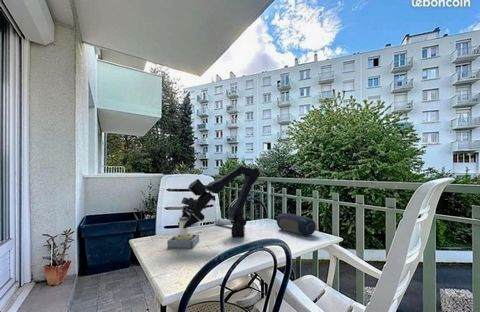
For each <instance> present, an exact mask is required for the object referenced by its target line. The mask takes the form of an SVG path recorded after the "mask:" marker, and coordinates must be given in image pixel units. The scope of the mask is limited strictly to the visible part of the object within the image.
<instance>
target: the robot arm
mask: <svg viewBox="0 0 480 312" xmlns="http://www.w3.org/2000/svg"><path fill="white" fill-rule="evenodd" d="M260 174H261V172H260V170H259V168H256V167H252V168H250V167H246V166H243V165H240V166H239V165H238V166H236V167H234V169H232V170H231V171H229V172H228V173H227V174H225V175H224V176H222V177H221V178H219V179H218V178H217V179H216V180H213V181H211V182H209V183H208V184H203V183H202V182H201V180H200V179H199V178H197V179H195V180H194V181H193V182H191V183H190V184H189V185H188V187H187V189H188V190H189V191H190V192H191V193H192V194H193V195H195V196H196V197H197V196H198V197H197V199H195V198H193V197H190V196H189V197H182V199H181V202H180V203H181V204H183V206H182V207H181V212H182V214H181V216H180V217H188V220H187V222H186V223H185V225H184V226H183V228H184V229H185V228H187V227H188V228H189V227H191V226H193V225H195V224H198V223H199V222H203V221H204V220H205V215H204V213H202V211H203V210H206V209H207V205H208V204H209V203H210V202H211V201H213V202H215V201H216V195H217V194H219V193H220V192H221V191H222V190H223V189H224V188H225V186H226V185H227V184H229V183H231V181H233V180H234V179H236V178H237V177H238V176H240V175H243V176H244V177H243V178H244V183H243V185H242V187H241V190H240V192H239V195H238V197H237V200H236V202H235V204H234V205H233V206H230V207H229V210H228V212H227V218H228V219H229V220H230V221H231V223H232V224H233V225H231V227H230V228H231V231H230V232H231V237H233V238H244V237H245V235H246V233H245V229H244V225H245V226H246V225H247V220H246V219H245V218H244V207H245V205H246V202H247V199H248V197H249V195H250V192H251V189H252V187H253V184H255V183H256V182H257V180H258V178H259V177H260ZM214 194H216V195H214ZM177 225H178V226H179V222H177Z"/></svg>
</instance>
